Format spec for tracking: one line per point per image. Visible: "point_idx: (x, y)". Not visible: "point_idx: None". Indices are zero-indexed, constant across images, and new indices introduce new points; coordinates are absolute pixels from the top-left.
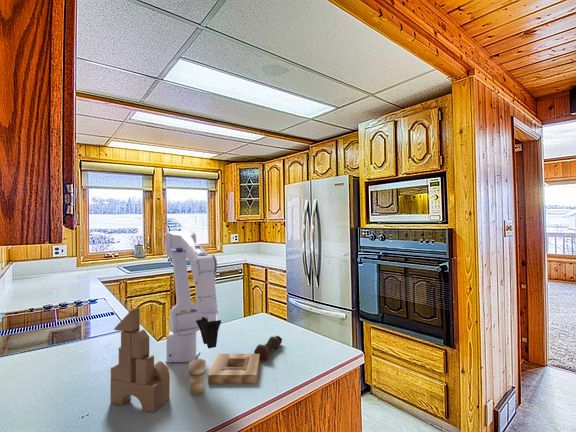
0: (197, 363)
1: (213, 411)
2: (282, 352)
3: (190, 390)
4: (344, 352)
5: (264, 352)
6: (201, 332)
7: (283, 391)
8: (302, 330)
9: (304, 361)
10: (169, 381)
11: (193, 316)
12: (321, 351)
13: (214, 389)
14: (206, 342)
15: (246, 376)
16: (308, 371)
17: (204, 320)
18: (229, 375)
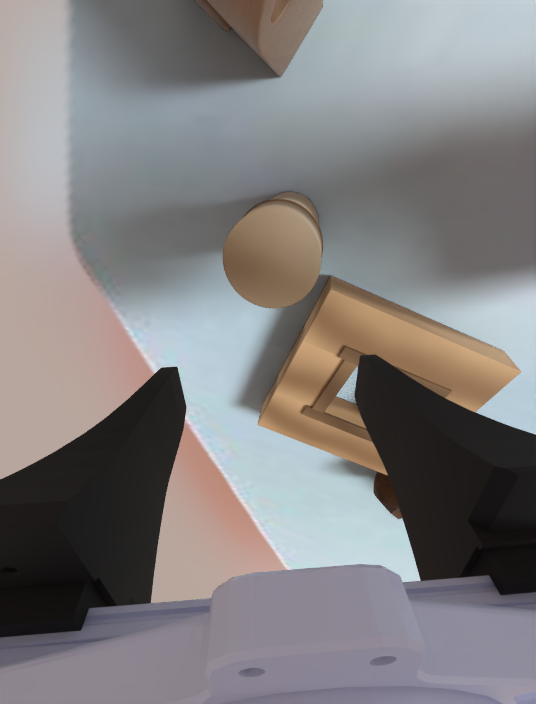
0: (258, 262)
1: (144, 259)
2: None
3: (283, 193)
4: None
5: (386, 492)
6: (403, 401)
7: (200, 438)
8: None
9: (321, 522)
10: (265, 59)
11: (251, 588)
12: (350, 561)
13: None
14: (157, 384)
15: (268, 400)
16: (269, 507)
17: (460, 538)
18: (292, 359)
